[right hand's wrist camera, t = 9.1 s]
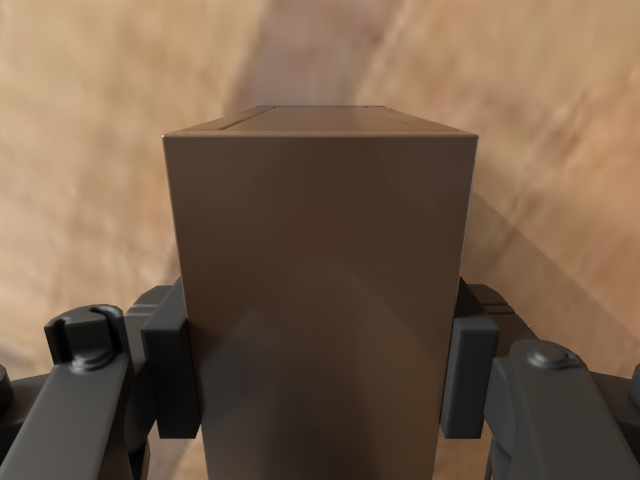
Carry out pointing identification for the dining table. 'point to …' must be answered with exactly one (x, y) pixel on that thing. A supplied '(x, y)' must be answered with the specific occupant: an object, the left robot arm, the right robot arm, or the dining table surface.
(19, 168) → the dining table surface
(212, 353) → the cabinet
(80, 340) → the right robot arm
